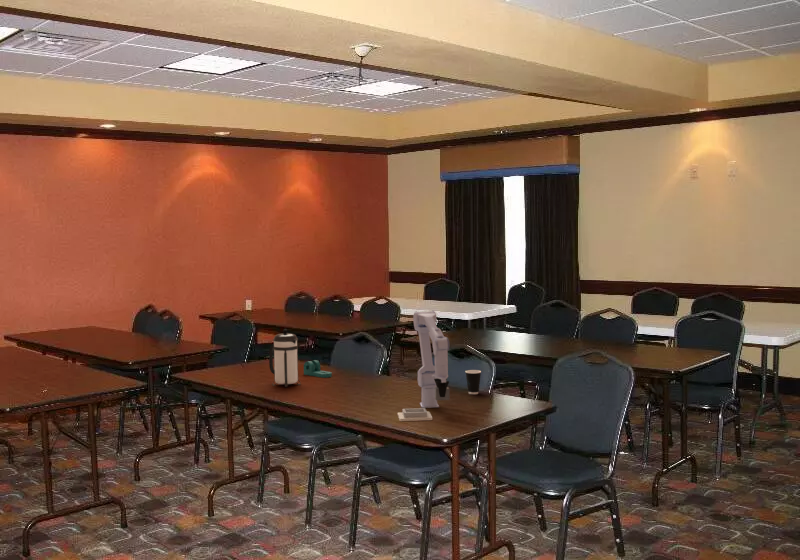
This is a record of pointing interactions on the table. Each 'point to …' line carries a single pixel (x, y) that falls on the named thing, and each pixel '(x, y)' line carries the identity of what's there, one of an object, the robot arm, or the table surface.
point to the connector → (437, 397)
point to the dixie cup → (473, 381)
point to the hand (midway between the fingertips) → (441, 395)
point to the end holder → (414, 414)
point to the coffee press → (284, 359)
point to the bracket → (315, 369)
